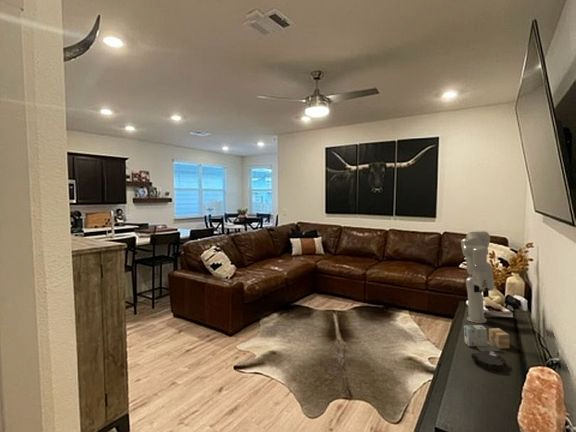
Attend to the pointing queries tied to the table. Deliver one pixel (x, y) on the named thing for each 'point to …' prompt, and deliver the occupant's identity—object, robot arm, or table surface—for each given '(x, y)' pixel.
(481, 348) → the grey mat
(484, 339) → the light bulb box
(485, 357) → the rock sample
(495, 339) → the tan block
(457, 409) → the table surface
